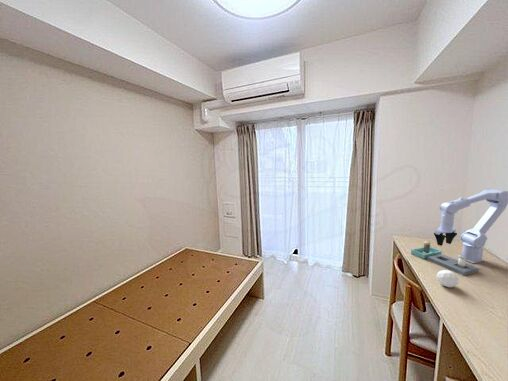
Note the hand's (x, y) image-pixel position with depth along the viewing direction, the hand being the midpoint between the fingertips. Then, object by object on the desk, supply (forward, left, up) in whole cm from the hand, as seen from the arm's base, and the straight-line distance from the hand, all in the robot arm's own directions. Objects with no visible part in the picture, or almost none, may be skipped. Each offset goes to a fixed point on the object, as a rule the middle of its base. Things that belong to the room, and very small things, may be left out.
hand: (444, 244), depth 128 cm
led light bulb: (+3, -7, -9) cm, 12 cm away
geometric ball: (+28, +19, -10) cm, 35 cm away
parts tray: (+3, -7, -9) cm, 12 cm away
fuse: (+4, +11, -9) cm, 15 cm away
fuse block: (+4, +7, -9) cm, 12 cm away
